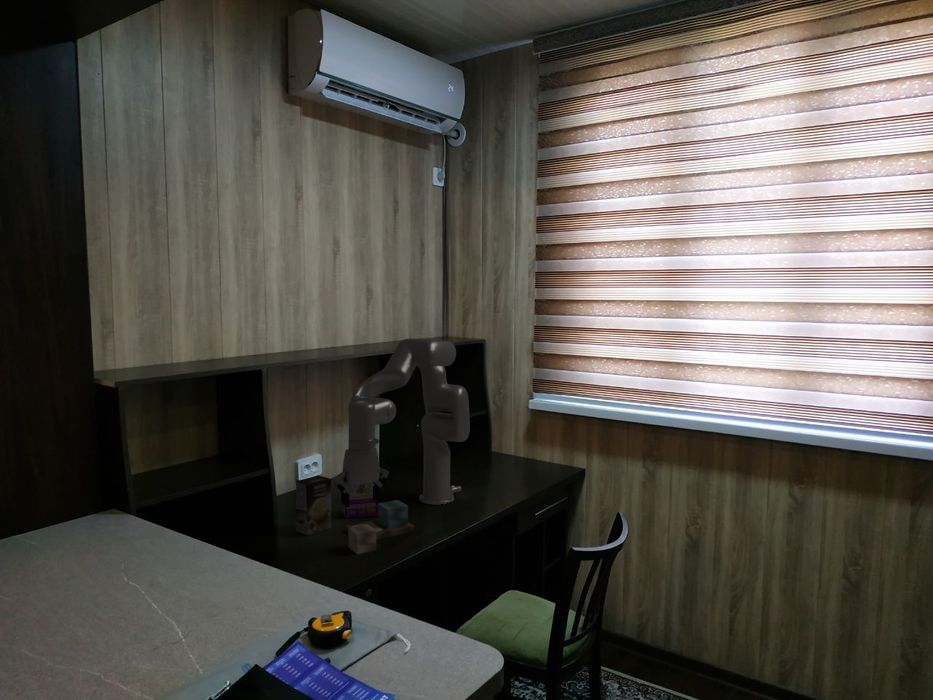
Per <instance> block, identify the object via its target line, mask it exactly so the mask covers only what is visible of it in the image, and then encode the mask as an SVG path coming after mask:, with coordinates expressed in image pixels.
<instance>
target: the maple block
mask: <svg viewBox="0 0 933 700" xmlns="http://www.w3.org/2000/svg"><path fill="white" fill-rule="evenodd" d="M347 533H348V534H347V535H348V542H347V543H348V544H347V545H348V549H350V550H351V551H352V552H353V553H355V554H356V555H361V554H365V553H369V552H373V551H377V539H376V530H375V529H374V528H372V527H371V526H369V525H368V524H365V525H360V526H355V527H351V528H348V532H347Z"/></svg>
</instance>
